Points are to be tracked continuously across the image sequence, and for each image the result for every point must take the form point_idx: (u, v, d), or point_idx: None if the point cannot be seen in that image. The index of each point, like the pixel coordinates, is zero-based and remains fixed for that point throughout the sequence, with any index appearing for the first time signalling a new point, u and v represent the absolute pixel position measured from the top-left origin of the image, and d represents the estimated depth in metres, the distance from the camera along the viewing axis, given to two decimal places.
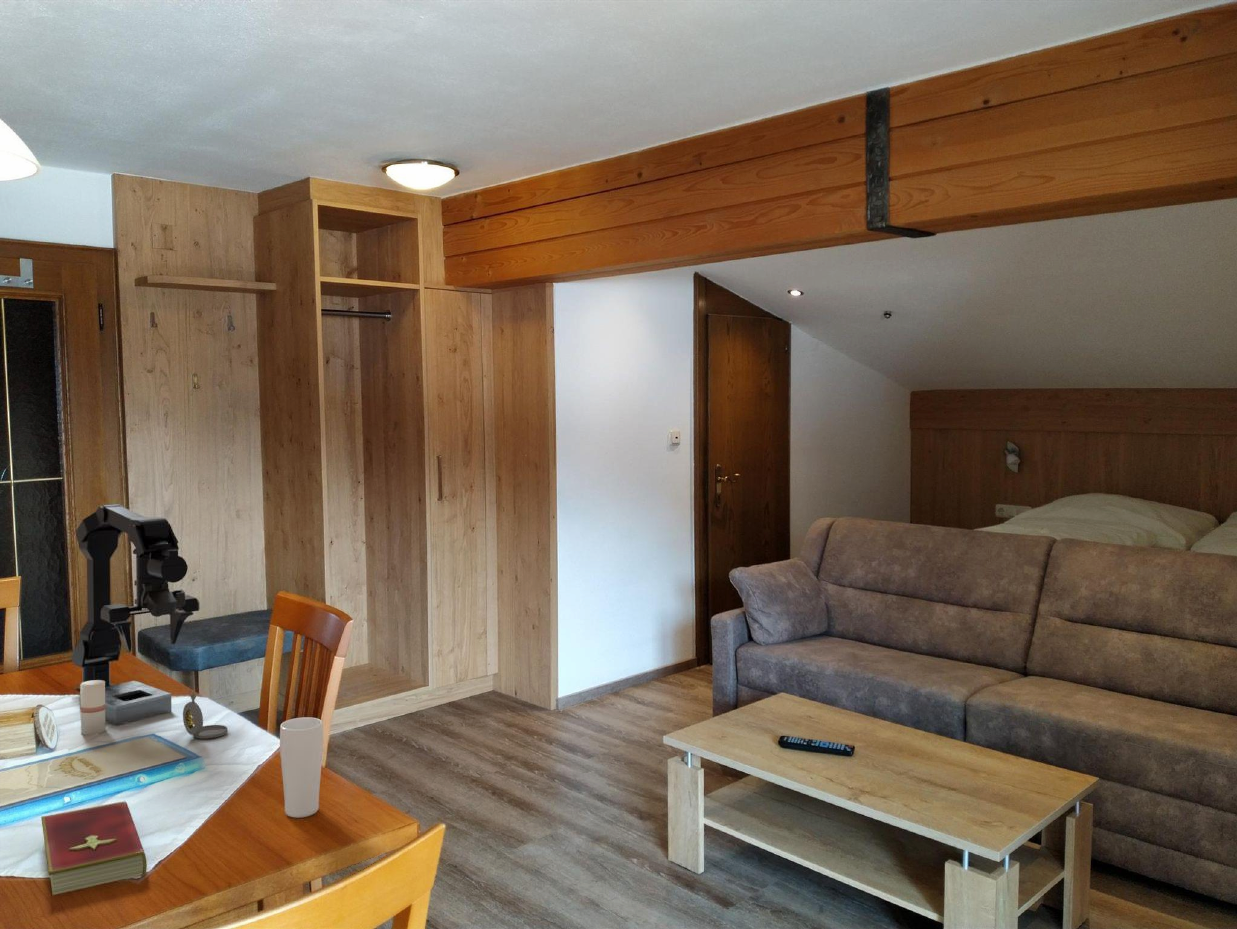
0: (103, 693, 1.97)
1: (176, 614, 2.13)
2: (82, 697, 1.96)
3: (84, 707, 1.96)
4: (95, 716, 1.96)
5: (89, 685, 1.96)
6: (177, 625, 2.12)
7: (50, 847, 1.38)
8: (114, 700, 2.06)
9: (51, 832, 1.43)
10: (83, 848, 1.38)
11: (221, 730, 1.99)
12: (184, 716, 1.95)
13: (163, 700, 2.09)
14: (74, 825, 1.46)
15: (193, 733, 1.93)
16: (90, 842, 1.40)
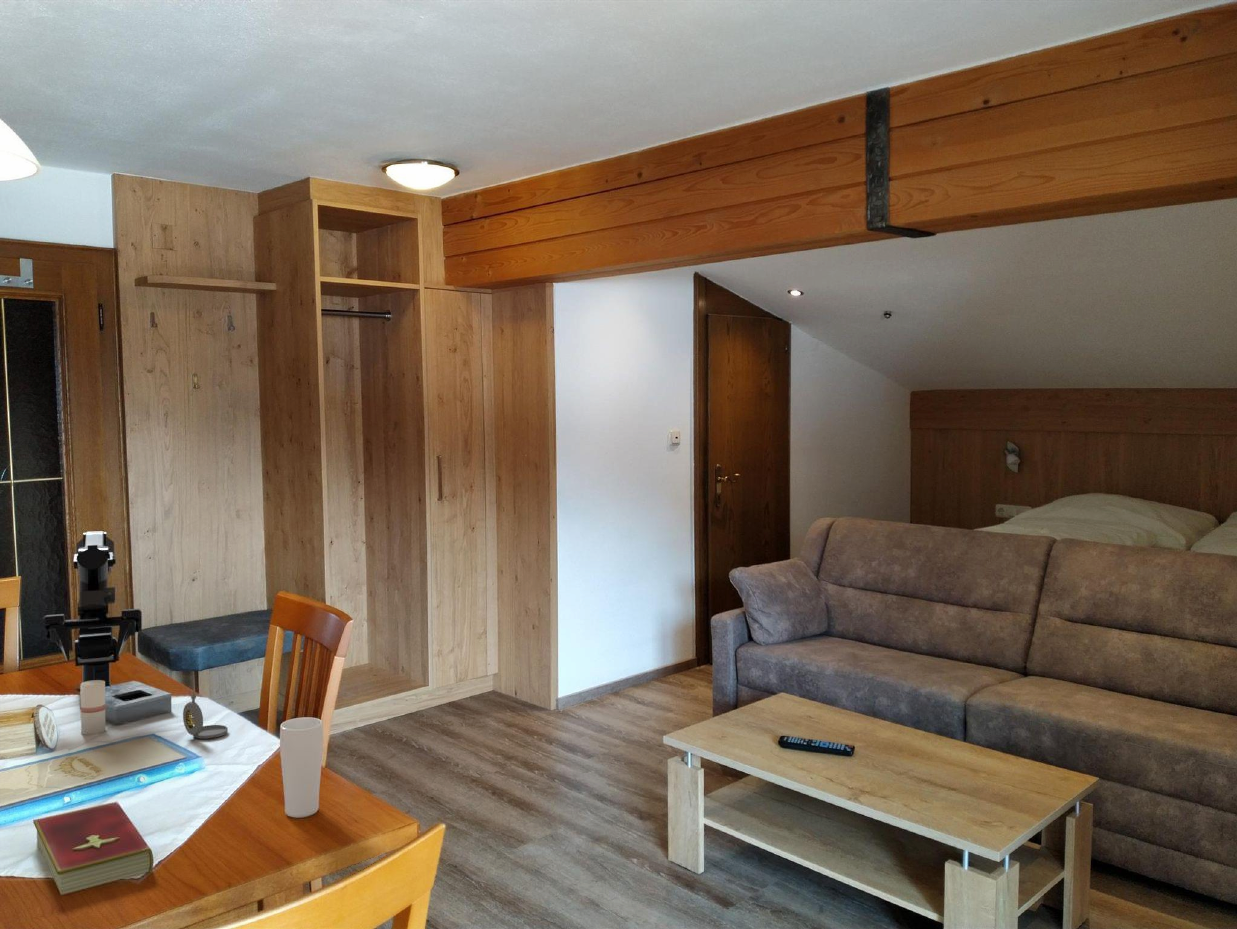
0: (103, 693, 1.97)
1: None
2: (82, 697, 1.96)
3: (84, 707, 1.96)
4: (95, 716, 1.96)
5: (89, 685, 1.96)
6: (120, 634, 2.08)
7: (52, 848, 1.38)
8: (114, 700, 2.06)
9: (49, 834, 1.43)
10: (87, 848, 1.38)
11: (221, 730, 1.99)
12: (184, 716, 1.95)
13: (163, 700, 2.09)
14: (71, 827, 1.45)
15: (193, 733, 1.93)
16: (93, 841, 1.40)
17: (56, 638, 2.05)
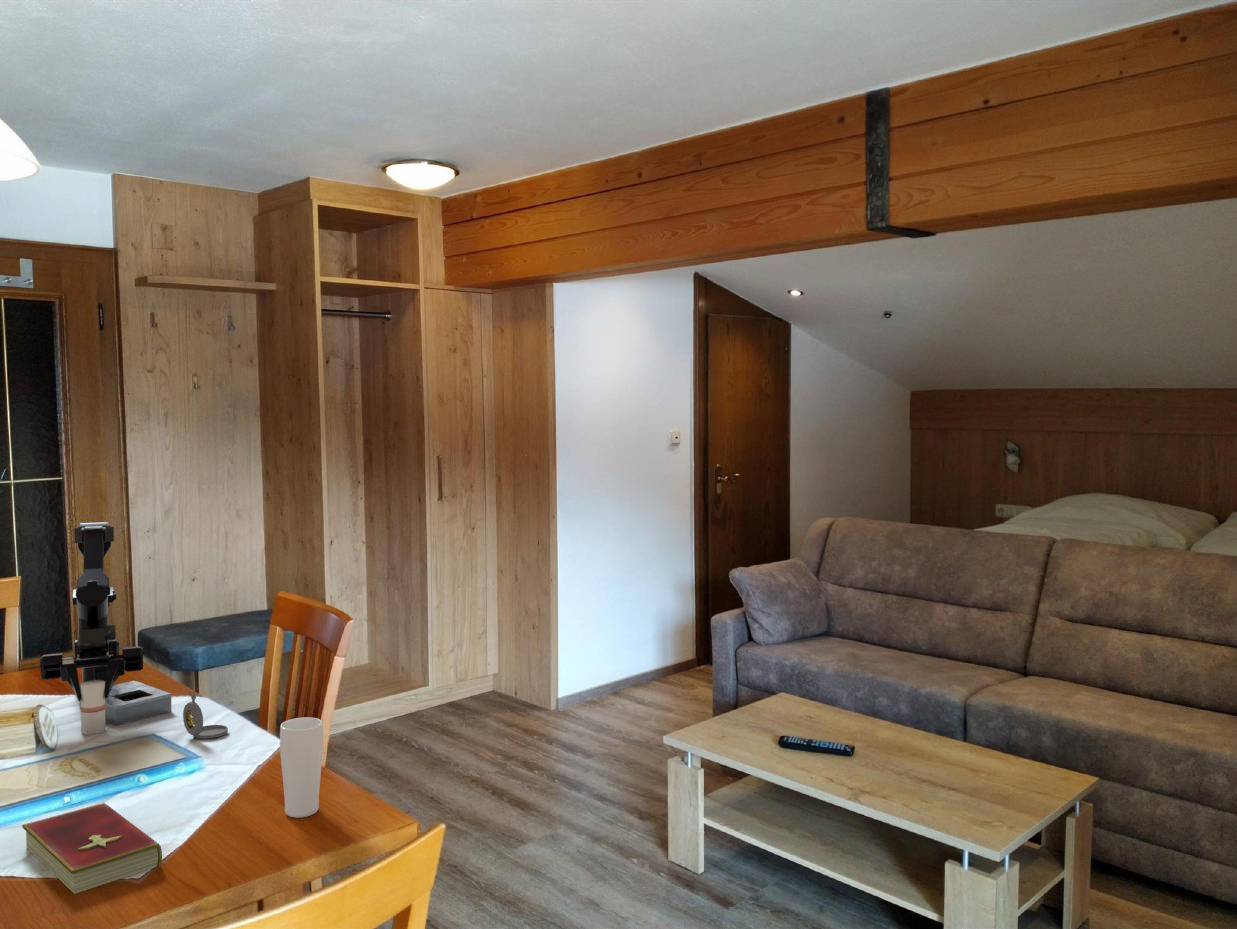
0: (103, 693, 1.97)
1: None
2: (82, 697, 1.96)
3: (84, 707, 1.96)
4: (95, 716, 1.96)
5: (89, 685, 1.96)
6: (108, 675, 1.99)
7: (55, 850, 1.38)
8: (114, 700, 2.06)
9: (45, 837, 1.42)
10: (92, 847, 1.39)
11: (221, 730, 1.99)
12: (184, 716, 1.95)
13: (163, 700, 2.09)
14: (66, 829, 1.44)
15: (193, 733, 1.93)
16: (97, 841, 1.40)
17: (67, 677, 1.99)
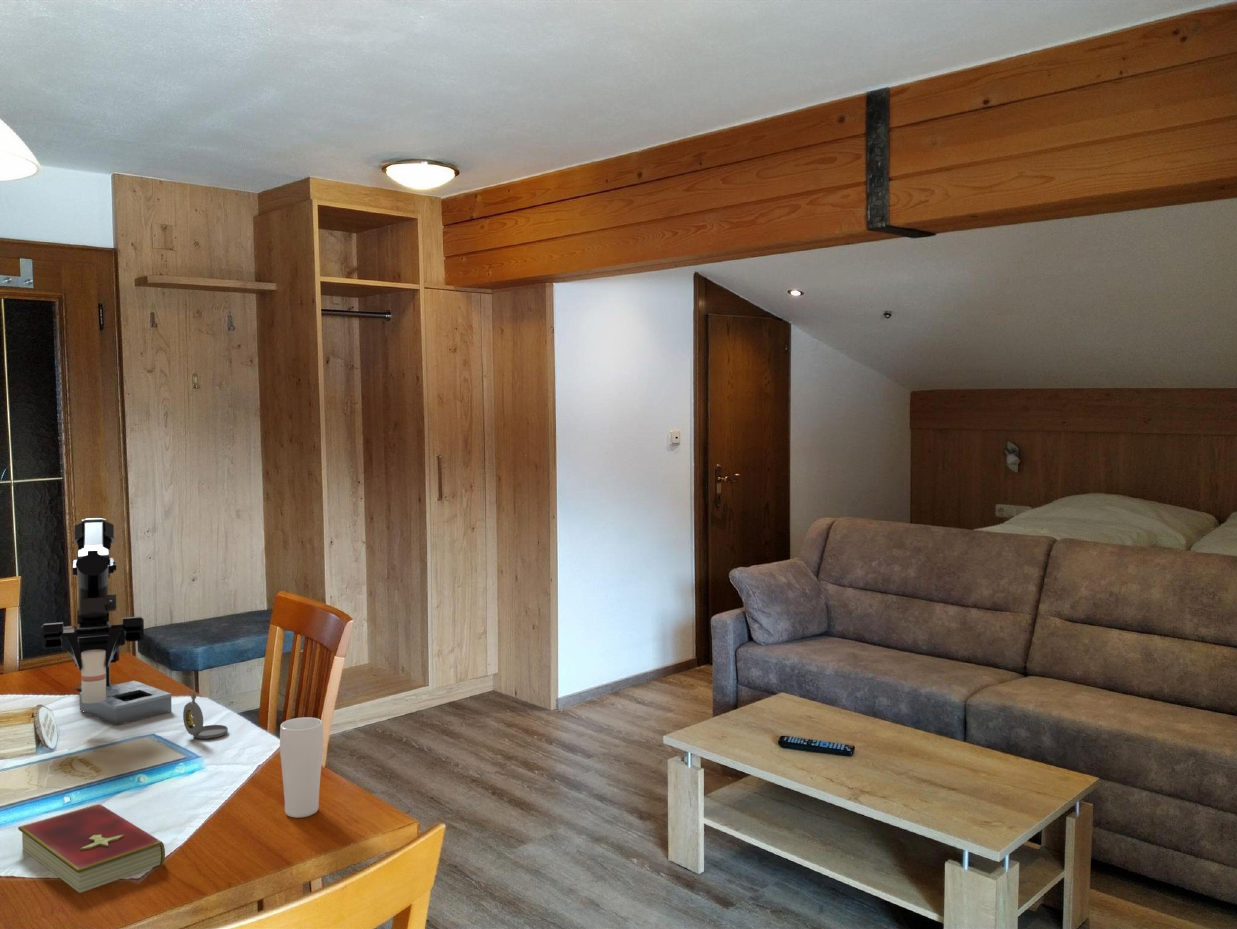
0: (104, 662, 1.97)
1: None
2: (83, 666, 1.95)
3: (85, 676, 1.95)
4: (96, 685, 1.96)
5: (90, 654, 1.96)
6: (109, 644, 1.99)
7: (56, 850, 1.37)
8: (114, 700, 2.06)
9: (44, 838, 1.41)
10: (95, 846, 1.39)
11: (221, 730, 1.99)
12: (184, 716, 1.95)
13: (163, 700, 2.09)
14: (64, 830, 1.44)
15: (193, 733, 1.93)
16: (98, 840, 1.40)
17: (67, 646, 1.99)
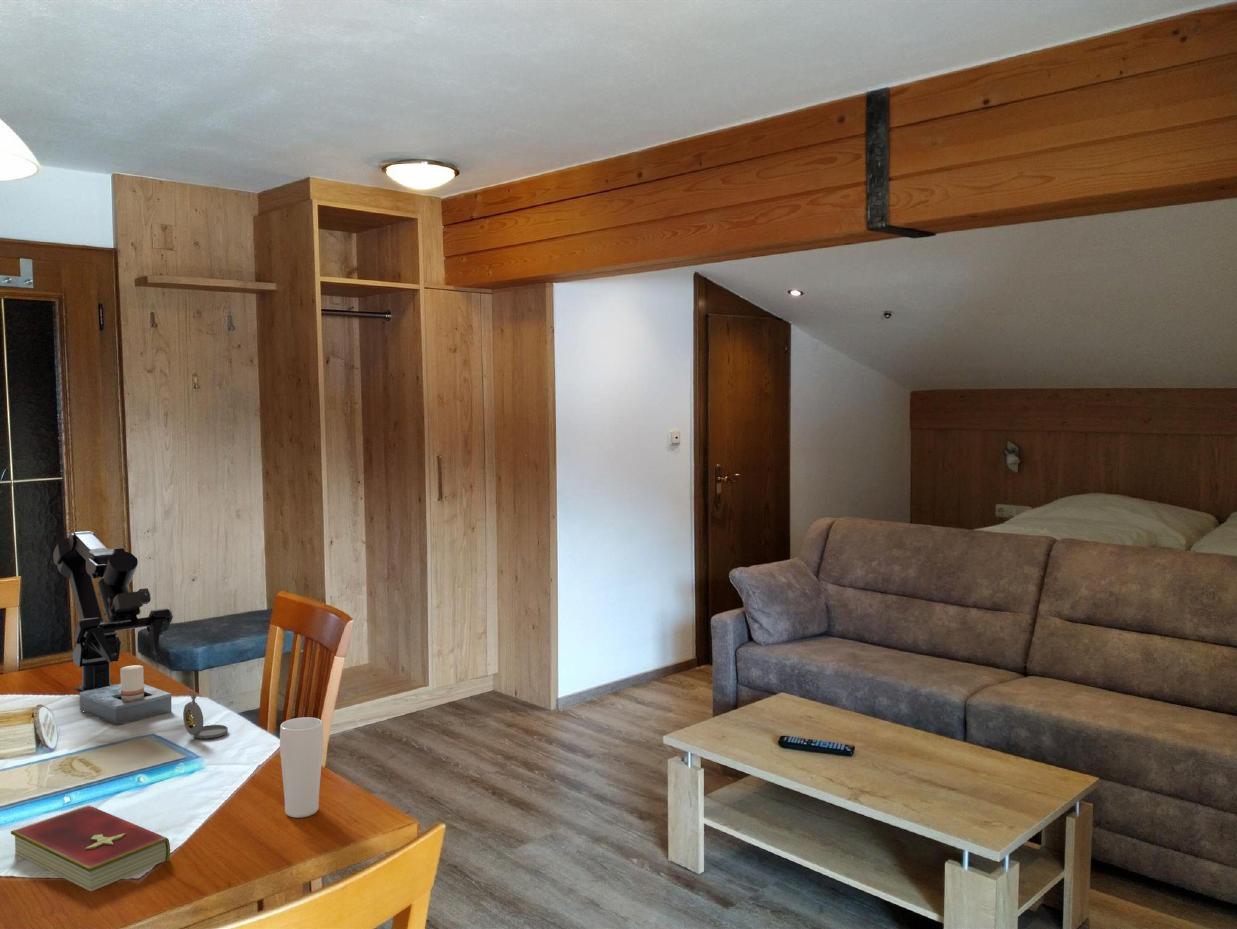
0: None
1: (151, 627, 2.14)
2: (124, 681, 2.07)
3: (127, 691, 2.07)
4: (138, 698, 2.08)
5: (131, 670, 2.07)
6: (155, 634, 2.12)
7: (60, 851, 1.37)
8: (114, 700, 2.06)
9: (43, 840, 1.41)
10: (99, 846, 1.39)
11: (221, 730, 1.99)
12: (184, 716, 1.95)
13: (163, 700, 2.09)
14: (61, 831, 1.44)
15: (193, 733, 1.93)
16: (101, 840, 1.40)
17: (90, 641, 2.06)
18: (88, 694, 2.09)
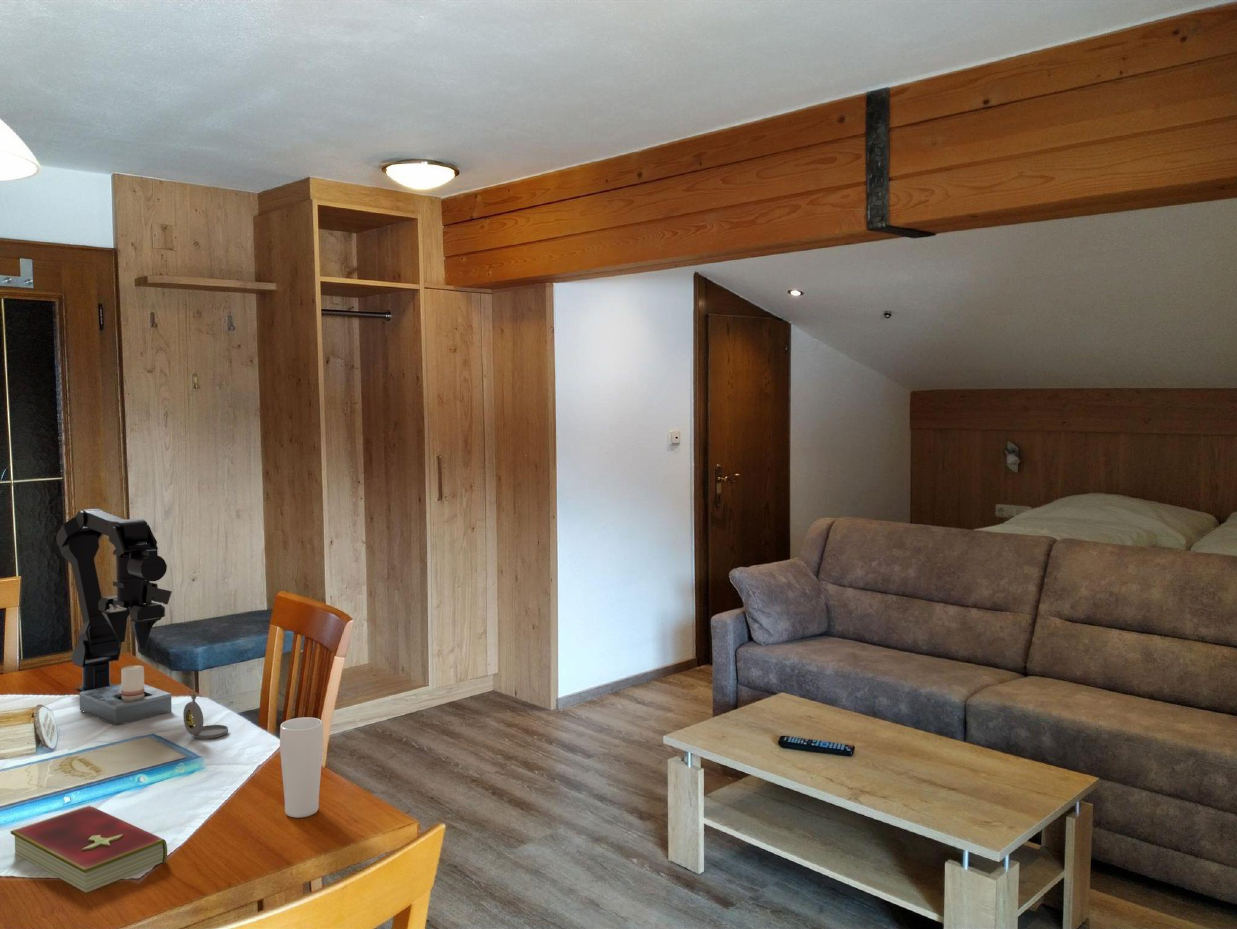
0: (143, 677, 2.10)
1: (122, 612, 2.20)
2: (125, 682, 2.07)
3: (128, 691, 2.07)
4: None
5: (132, 670, 2.07)
6: None
7: (57, 852, 1.37)
8: (114, 700, 2.06)
9: (41, 841, 1.40)
10: (96, 846, 1.39)
11: (221, 730, 1.99)
12: (184, 716, 1.95)
13: (163, 700, 2.09)
14: (60, 832, 1.43)
15: (193, 733, 1.93)
16: (99, 841, 1.40)
17: None
18: (88, 694, 2.09)
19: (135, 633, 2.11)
